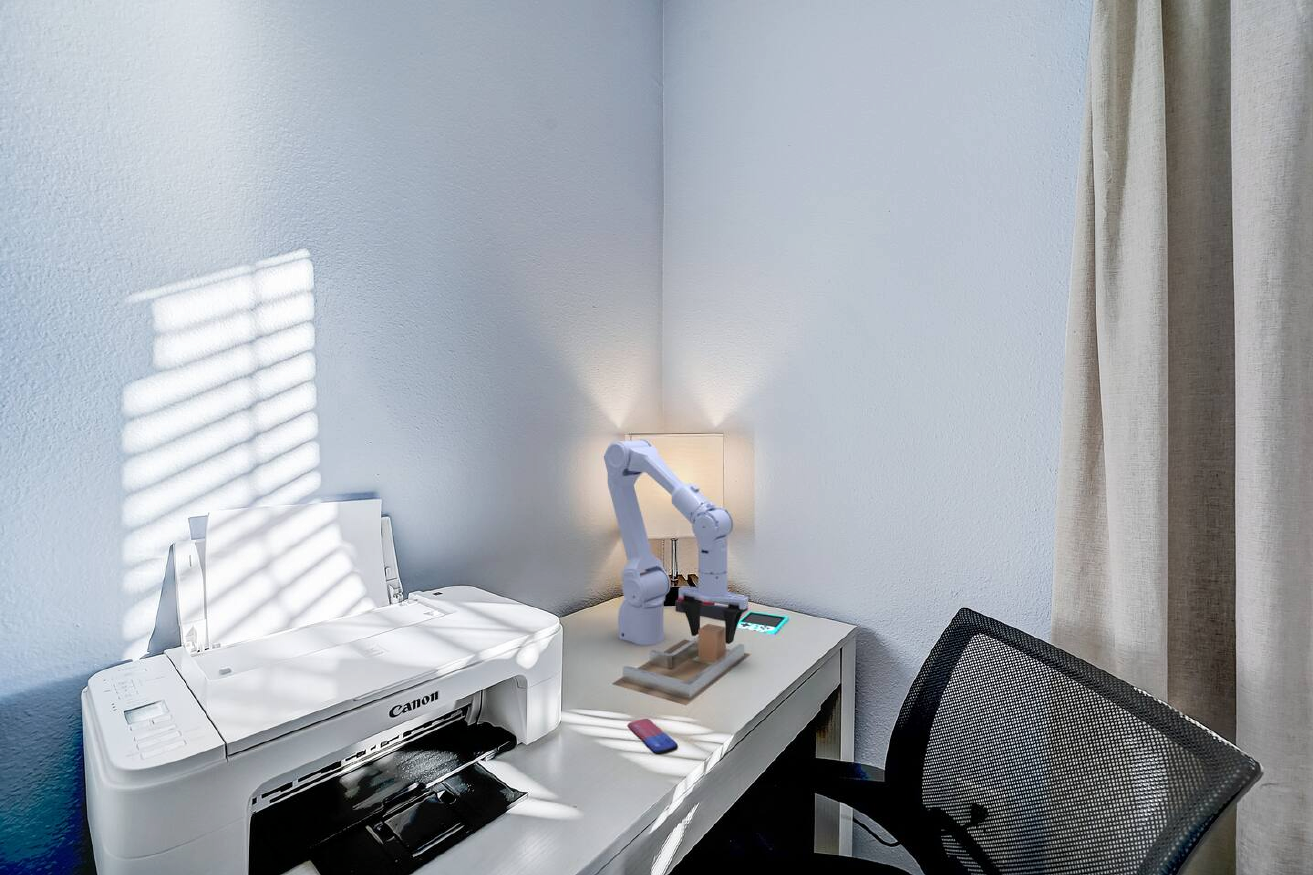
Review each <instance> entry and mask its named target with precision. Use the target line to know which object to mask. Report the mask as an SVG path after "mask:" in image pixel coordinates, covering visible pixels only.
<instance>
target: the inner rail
mask: <svg viewBox="0 0 1313 875" xmlns="http://www.w3.org/2000/svg"><path fill="white" fill-rule="evenodd" d="M689 641H690V642H689V643H687V644H685V645H684V646H682V647H681V648H679V649H677V650H676V651H674V652H673V653H671V654H668V653H664V651H659V650H656V649H652V650H650V651H649V661H650V664H651V665H655V666H659V667H663V668H667V669H671V670H672V669H674V668H675V667H677V666H678V665H680V664H681V663H683V662H684V661H686V660H687V659H689V658H690V657H692V656H693V655H695V654H696V653H698V636H697V637H695V638H693V639H692V640H689Z"/></svg>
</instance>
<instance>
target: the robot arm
mask: <svg viewBox="0 0 1313 875" xmlns="http://www.w3.org/2000/svg"><path fill="white" fill-rule="evenodd" d="M603 459H604V460H603V461H604V464H605V468H606V472H607V488H608V490H609V494H610V498H611V501H612V506H613V510H614V513H615V517H616V521H617V524H618V528H619V529H618V530H619V533H620V536H621V539H622V540H621V541H622V545H623V548H624V552H625V556H626V559H627V563H626V564H625V566H624V567H623V568H622V571H621V574H620V575H621V578H622V587H621V588H622V595H623V597H624V600H623V601H622V603H621V604H620V606H619V610H618V615H617V618H618V619H617V620H618V621H617V622H618V625H617V626H618V629H617V630H618V632H617V633H618V639H620V640H623V641H628V642H631V643H633V644H636V645H640V646H654V645H658V644H660V643H661V644H662V642H663V641H664V637H665V636H664V634H665V633H664V628H665V627H664V624H665V623H664V622H665V621H664V618H665V616H664V614H665V613H664V611H665V610H664V609H665V608H664V602H665V601H666V595H667V594H668V593H670V590H671V585H672V584H671V579H670V578H671V577H670V576H669V574H668V572H667V571H666V570H665V567H664V566H663V562H662V560H661V559H659V558H658V557H656V556H655V555H653V553H652V549H651V545H650V541H649V538H648V533H647V530H646V527H645V523H644V519H643V514H642V512H641V511H642V510H641V507H640V503H639V500H638V496H637V493H636V489H635V484H636V482H637V481H638V478H640V477H641V476H642V475H643V473H646V474H647V475H648V476H650V478H651V479H653V480H654V481H655V482H656V483H657V484H658V485H659V486H661V487H662V488H663V489H664V490H665V491H666V492H667V493H668V494H670V495H671V504H672V505H673V506H674V507H675V508H676V509H677V511H679V512H680V514H682V515H683V517H685V519H686V520H687V521H688V522H689V523H690V524H691V529H692V533H693V535H694V536H695V539H696V546H697V548H698V553H697V554H698V557H697V558H698V560H697V566H698V567H697V568H698V570H697V574H698V576H697V583H698V584H697V586H687V585H682V586H680V587H679V588H678V598H684V599H683V601H681V602H680V604H681V607H682V609H683V610H684V612H685V613H684V615H685V617H686V619H687V622H688V624H689V626H688V627H689V628H690V633H691V636H692V637H695V636H697V635H698V629H700V628H701V616H700V611H701V605H702V601H706V602H712V603H718V604H723V605H728V607H727V608H725V609H724V610H723V614H724V619H725V621H724V627H726V632H725V640H726V644H727V645H729V644H731V643H733V642H734V640H735V634H736V632H737V631H736V630H737V628H738V627H737V625H738V622H739V621H740V620H741V619H742V618H741V617H742V615H743V614H744V613H745V612H744V610H745V609H746V608H747V607H748V608H749V597H748V596H747V597H744V596H740V595H741V594H738V593H734V592H731V591H728V536H729V535H730V534H731V533H732V531H733V528H734V520H733V518H732V515H731V513H729V511H728V509H726V508H724V507H717V506H716V504H715V503H714V502H712V501H710V500H709V499H708V498H707V497H706V496H705V495H704V494H703V493H702V492H701V491H700V489H701V488H700V487H699V486H698V485H696V484H692V483H684V482H683V481H682V480H681V479H680V478H679V476H678V475H676V473H675V472H674V471H673V470H672V469H671V468H670V466H669V465H668V464H667V463H666V462H665V461H664V460H663V459H662V458H661V456H660V455H659V450H658V448H657V447H655V446H654V445H653V444H652V443H651V442H650V441H649V440H647V439H643V438H642V439H637V440H623V441H621V440H615V441H612V442H611V443H609V445H608V446H607V449H606V451H605V453H604V455H603ZM642 571H643V572H642ZM737 594H738V595H737ZM743 612H744V613H743Z"/></svg>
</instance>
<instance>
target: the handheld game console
mask: <svg viewBox="0 0 1313 875" xmlns="http://www.w3.org/2000/svg"><path fill="white" fill-rule="evenodd" d="M789 620H790V619H789V616H787V615H781V614H780V615H779V614H773V613H765V612H759V611H749V612H747V613H746V614H745V615H744V616H743V617H742V618H740V620H739V622H738V625H737V628H738V629H744V630H749V631H752V632H753V631H754V632H759V633H763V634H769V635H774V636H775V634H776V633H777V632H778V633H779V632H780V631H781V629H782V628H783V627H784V626H785V625H786V624H787V623H788V621H789ZM785 623H786V624H785ZM784 624H785V625H784ZM783 625H784V626H783ZM782 626H783V627H782ZM778 633H777V634H778ZM777 634H776V635H777Z"/></svg>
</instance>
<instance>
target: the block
mask: <svg viewBox="0 0 1313 875" xmlns="http://www.w3.org/2000/svg"><path fill="white" fill-rule="evenodd" d="M725 632H726V627H725V626H721V625H717V624H716V625H715V624H711V623H707V624H705V625H704V626H702V627H700V629H698V634H697V635H698V636H697V637H698V659H699V660H703V661H707V662H711V663H714V662H715V661H717V660H718V659H719V658H721V657H722V656H724V655H725V654H726V649H727V645H726V644H727V643H726V640H725Z"/></svg>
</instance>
